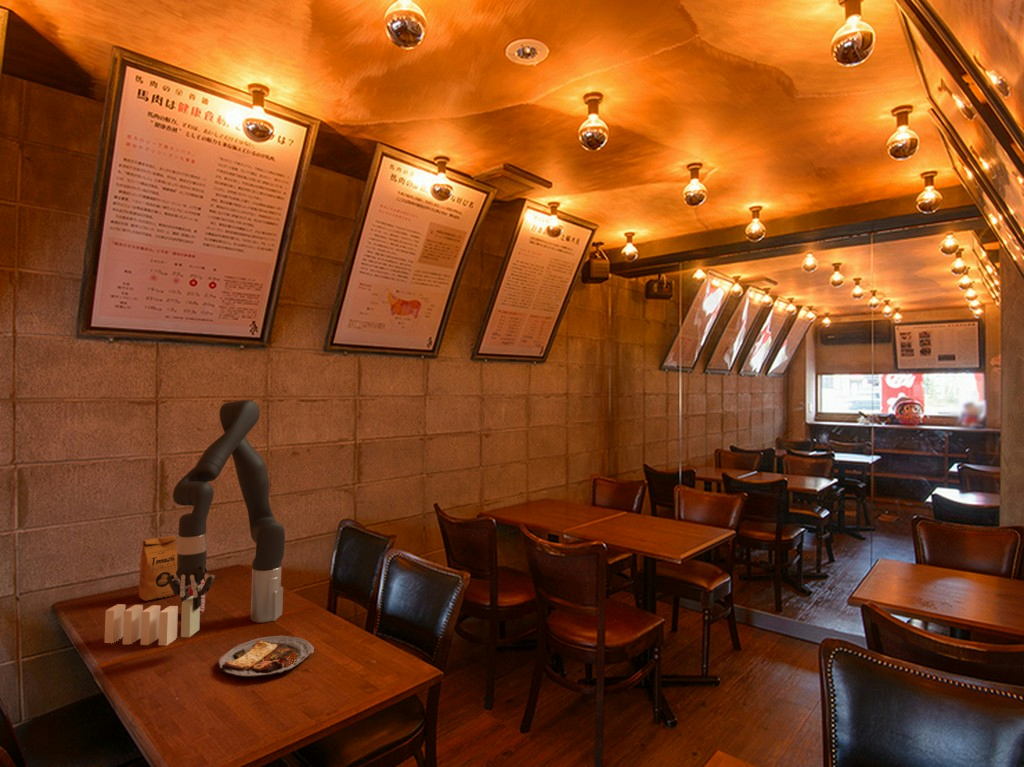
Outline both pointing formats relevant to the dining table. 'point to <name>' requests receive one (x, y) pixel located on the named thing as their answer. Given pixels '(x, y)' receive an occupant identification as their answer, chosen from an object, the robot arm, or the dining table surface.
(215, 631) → the dining table surface
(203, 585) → the soda can
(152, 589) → the coffee package
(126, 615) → the tile
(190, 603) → the sage tile
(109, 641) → the tile
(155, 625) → the tile
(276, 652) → the food plate
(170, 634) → the tile
